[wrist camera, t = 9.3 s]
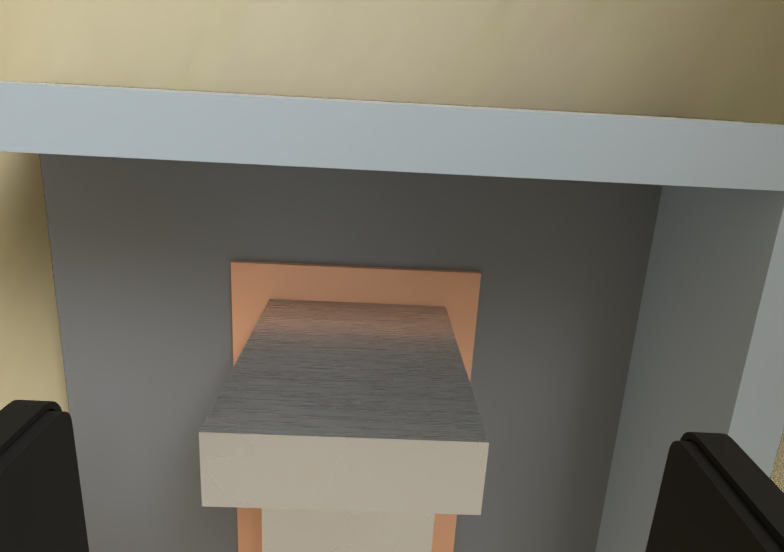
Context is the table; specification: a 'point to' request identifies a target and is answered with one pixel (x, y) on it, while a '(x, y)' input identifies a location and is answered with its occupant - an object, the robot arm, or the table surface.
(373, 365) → the bracket
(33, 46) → the table surface
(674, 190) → the arena
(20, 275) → the table surface
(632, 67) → the table surface
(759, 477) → the robot arm
